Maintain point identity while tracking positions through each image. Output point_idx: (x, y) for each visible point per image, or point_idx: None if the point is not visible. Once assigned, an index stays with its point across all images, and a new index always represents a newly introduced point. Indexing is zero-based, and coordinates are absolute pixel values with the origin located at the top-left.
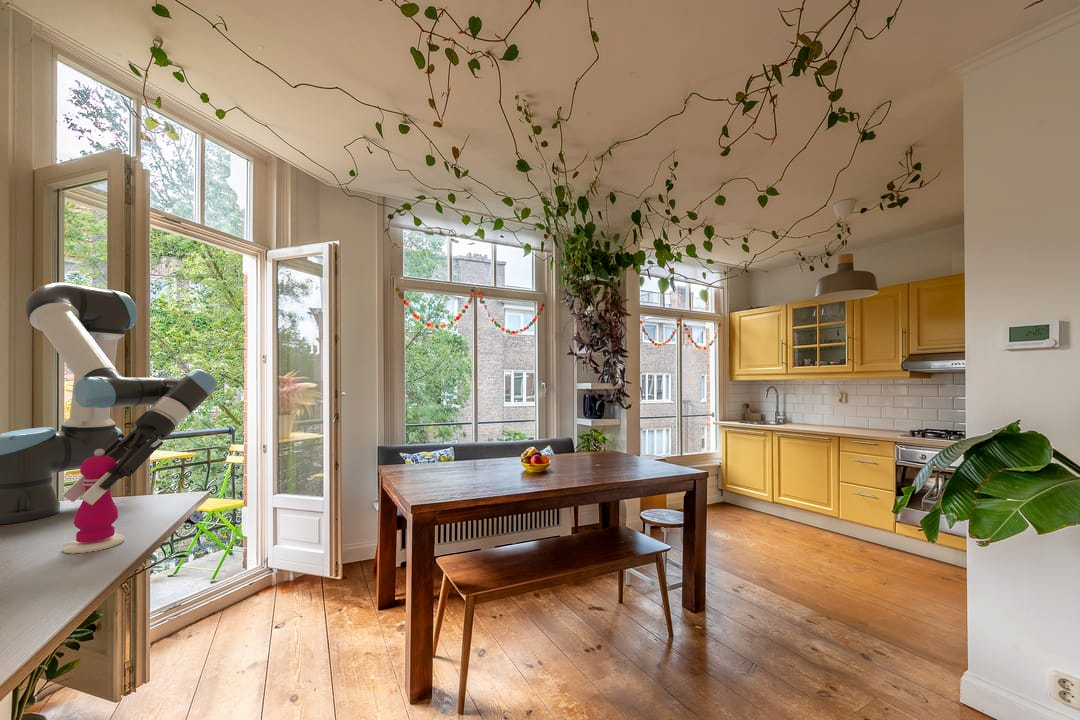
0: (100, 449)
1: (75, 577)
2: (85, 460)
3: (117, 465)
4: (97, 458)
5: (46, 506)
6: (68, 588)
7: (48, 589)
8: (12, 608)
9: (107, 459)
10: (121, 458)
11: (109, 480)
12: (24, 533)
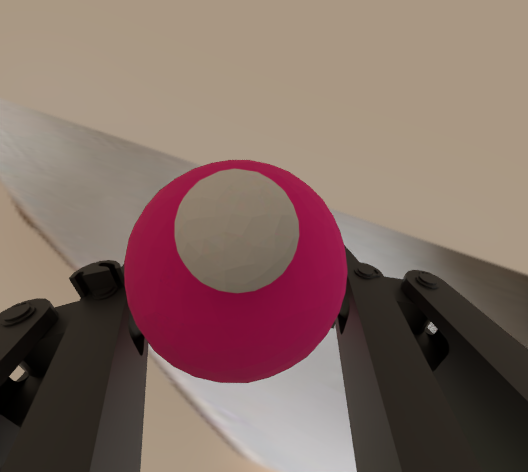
0: (191, 204)
1: (101, 196)
2: (261, 164)
3: (91, 328)
4: (167, 199)
5: None
6: (64, 173)
7: (91, 163)
8: (70, 124)
9: (130, 274)
10: (97, 418)
11: (123, 266)
12: (441, 264)
